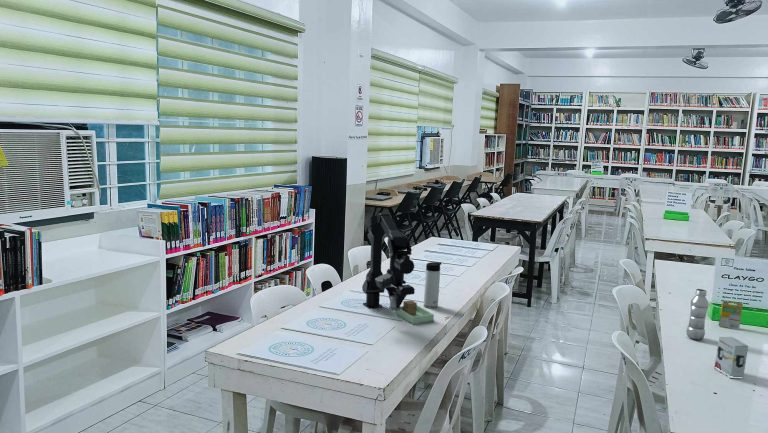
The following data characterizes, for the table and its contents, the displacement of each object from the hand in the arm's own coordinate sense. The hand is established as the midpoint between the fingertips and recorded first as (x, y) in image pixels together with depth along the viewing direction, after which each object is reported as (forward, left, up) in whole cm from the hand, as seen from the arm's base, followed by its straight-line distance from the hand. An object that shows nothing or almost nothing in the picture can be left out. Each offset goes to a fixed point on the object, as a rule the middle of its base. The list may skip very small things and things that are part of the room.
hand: (395, 306), depth 225 cm
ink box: (+82, +85, -8) cm, 118 cm away
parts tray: (-6, +13, -8) cm, 17 cm away
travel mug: (-16, +28, -8) cm, 33 cm away
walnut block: (-10, +13, -8) cm, 18 cm away
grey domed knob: (0, 0, -1) cm, 1 cm away
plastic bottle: (+56, +106, -8) cm, 120 cm away
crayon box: (+53, +134, -8) cm, 144 cm away
